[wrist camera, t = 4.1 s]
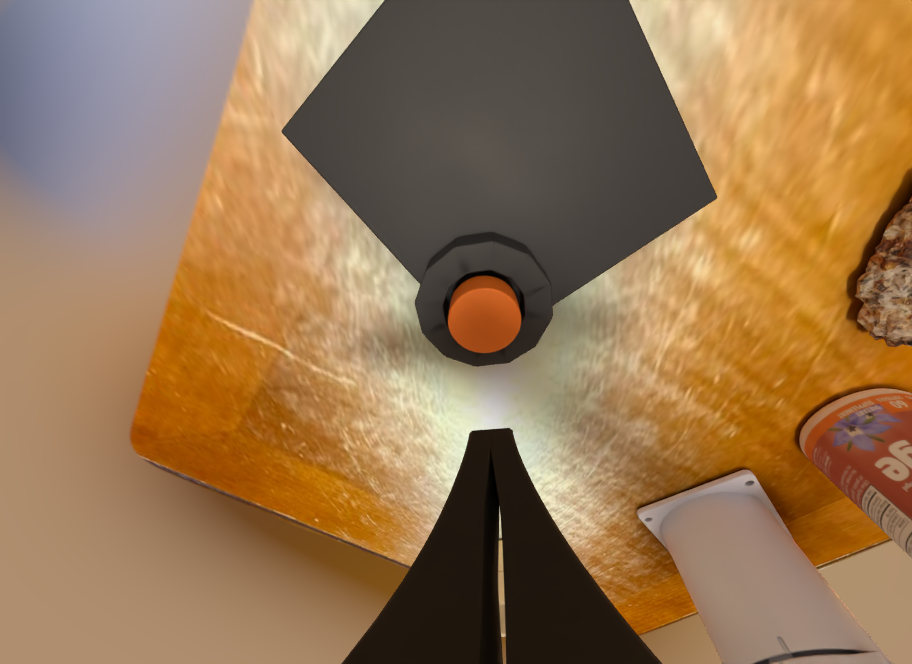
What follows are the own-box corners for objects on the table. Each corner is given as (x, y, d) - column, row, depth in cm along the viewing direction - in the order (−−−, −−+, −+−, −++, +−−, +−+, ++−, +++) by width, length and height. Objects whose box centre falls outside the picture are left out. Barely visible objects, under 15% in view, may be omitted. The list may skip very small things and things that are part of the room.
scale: (703, 202, 15) (751, 214, 12) (473, 353, 19) (472, 385, 17) (533, -159, 10) (552, -262, 8) (283, 148, 15) (241, 149, 12)
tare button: (530, 311, 15) (536, 328, 14) (477, 347, 16) (477, 365, 15) (490, 260, 14) (491, 273, 13) (436, 301, 15) (432, 317, 14)
